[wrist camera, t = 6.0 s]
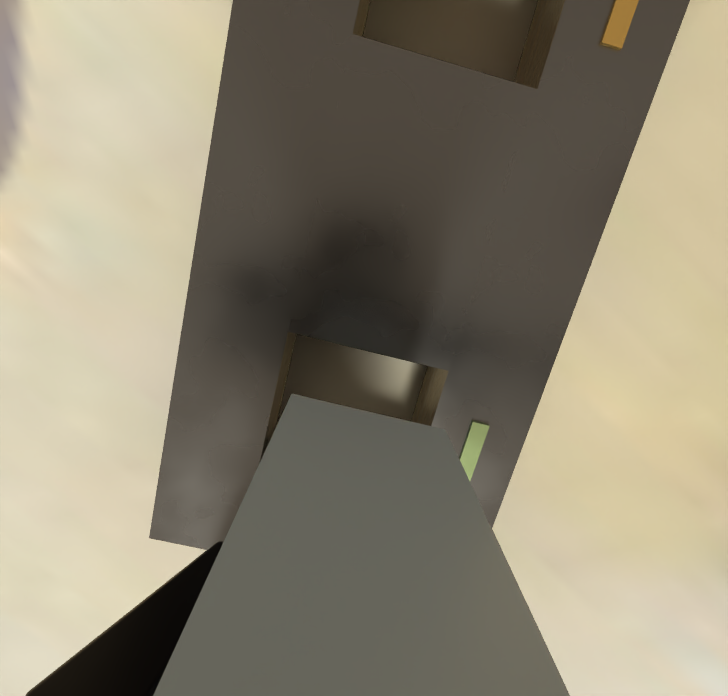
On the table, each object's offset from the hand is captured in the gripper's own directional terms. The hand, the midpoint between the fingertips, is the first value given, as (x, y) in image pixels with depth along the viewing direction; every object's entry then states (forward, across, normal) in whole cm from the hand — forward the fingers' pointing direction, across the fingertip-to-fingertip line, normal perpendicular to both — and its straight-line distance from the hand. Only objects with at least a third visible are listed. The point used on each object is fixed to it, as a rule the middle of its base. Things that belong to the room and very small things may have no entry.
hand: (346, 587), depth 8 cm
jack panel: (+10, 0, -7) cm, 12 cm away
